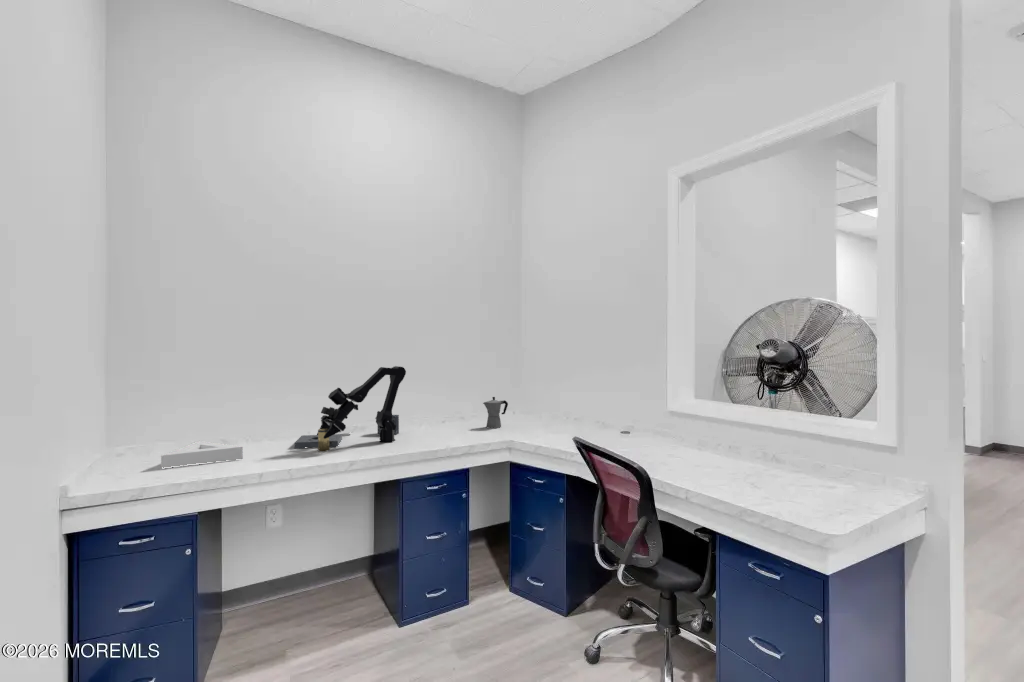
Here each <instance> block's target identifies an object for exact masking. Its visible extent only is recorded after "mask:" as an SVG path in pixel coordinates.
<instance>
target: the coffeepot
mask: <svg viewBox="0 0 1024 682" xmlns="http://www.w3.org/2000/svg"><path fill="white" fill-rule="evenodd" d="M482 405H484V406H485V409H486V410H487V411H486V412H487V415H488V416H487V422H486V428H487V427H488V428H487V429H501V428H502V422H501V418H500V412H501V407H502V405H504V408H503V412H501V415H505V414H506V411H507V409H508V405H509V403H508V401H506V400H498V399H497V400H496V397H495V396H492V399H491V400H488V401H484V402H482ZM500 427H501V428H500Z"/></svg>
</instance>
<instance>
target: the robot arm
mask: <svg viewBox="0 0 1024 682" xmlns="http://www.w3.org/2000/svg"><path fill="white" fill-rule="evenodd" d="M406 374H407V371H406V368H404V366H399V365H398V366H397V365H395V366H393V367H384V366H383V367H382V366H381V367H379V368H378V369H377V370H376V371H375V372H374V373H373V374H372V375H370V377H369V378H368V379H367V380H366V381H364V382H363V383H362V384H361V385H359V386H357V387H356V388H354V389H353V390H351V391H350V392H347V393H345V392H344V391H343V390H342V389H341V387H337V388H336V389H334V390H332V391H331V392H330V393H329V394H328V399H329V400H330V401H332V402H333V403H334V404H335V405H336V406H339V407H338V408H335V407H332V406H330V407H326V406H323V407H322V409H321V411H320V413H321V414H323V415H322V417H320V422H321V425H320V427H319V429H324V428H327V429H329V430H328V431H327V433H326V434H325V435H324V438H325V439H326V438H328V437H330V436H332V435H334V434H339V433H341V432H344V431H345V429H346V427H347V426H346V424H345V423H344V422H343V421H344V420H345V419H348V416H349V415H350V414H351V412H352V411H353V410H355V411H359V404H357V403H362V402H363V401H364V400H365V399H366V398H367V396H368V394H369V392H370V390H371V389H373V388H374V387H375V386H376V385H377V384H378V383H379V382H380V381H381V380H382V379H383V378H384V377H385V376H389V379H390V380H389V381H390V383H389V386H388V390H387V393H386V395H385V396H386V397H385V400H384V404H383V406H382V409H380V410H377V412H376V416H375V418H374V419H375V423H376V425H377V426H378V425H379V428H380V429H381V432H380V435H379V443H393V442H394V441H396V439H395V435H394V430H395V429H396V425H395V424H394V423H393V422H392V415H393V411H392V410H393V407H394V404H395V400H396V397H397V393H398V390H399V387H400V385H401V383H402V382H403V380H404V378H405V376H406ZM355 403H356V404H355ZM316 435H318V432H317V433H316ZM392 441H393V442H392Z"/></svg>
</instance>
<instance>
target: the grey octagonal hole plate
mask: <svg viewBox="0 0 1024 682" xmlns="http://www.w3.org/2000/svg"><path fill="white" fill-rule="evenodd" d="M341 440H342V441H343V433H336V434H334V435H332V436H330V437H329V448H337V447H336V446H338V445H340V444H341V443H342V441H341ZM340 442H341V443H340ZM339 443H340V444H339ZM305 447H318V435H317V434H311V435H310V434H309V435H307V434H306V435H301V436H300V437H298V438H297V440H296V441H294V449H295V448H299V449H306V448H305ZM338 447H339V446H338Z"/></svg>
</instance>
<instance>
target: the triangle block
mask: <svg viewBox="0 0 1024 682" xmlns="http://www.w3.org/2000/svg"><path fill="white" fill-rule="evenodd" d="M243 448H244V447H243V446H240V445H234V444H233V445H232V444H226V443H224V444H223V443H218V442H209V441H203V440H198V441H196V442H193V443H190V444H188V445H185V446H183V447H181V448H180V447H179V448H177V449H175V450H172V451H169V452H167V453H164V454H161V456H160V466H161V467H163V468H164V467H171V466H180V465H187V464H196V463H207V462H216V461H226V460H236V459H244V455H243V453H244V452H243ZM161 467H160V468H161Z"/></svg>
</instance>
